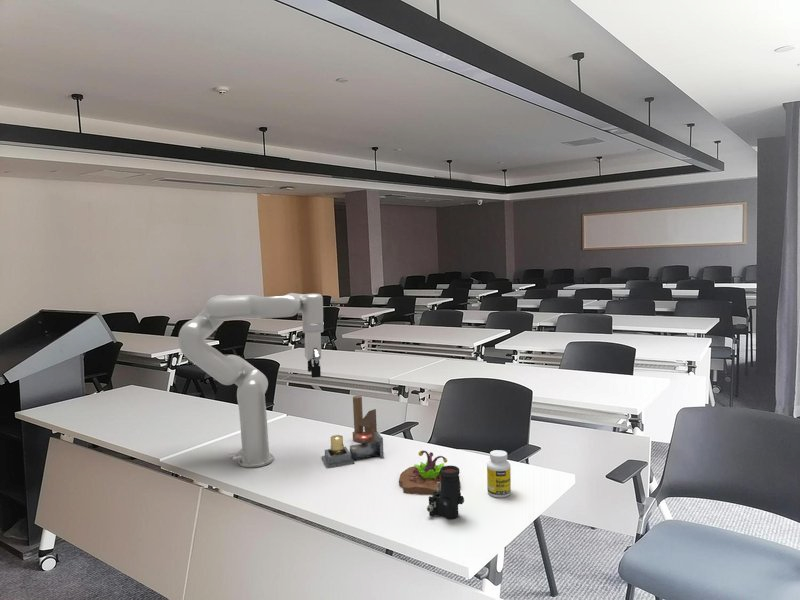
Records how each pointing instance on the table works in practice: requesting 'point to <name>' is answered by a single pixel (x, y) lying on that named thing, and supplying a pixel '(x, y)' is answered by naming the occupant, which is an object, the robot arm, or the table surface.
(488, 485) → the supplement bottle
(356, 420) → the wooden block
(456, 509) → the scope
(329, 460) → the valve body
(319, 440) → the table surface
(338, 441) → the cylinder
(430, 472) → the plant
